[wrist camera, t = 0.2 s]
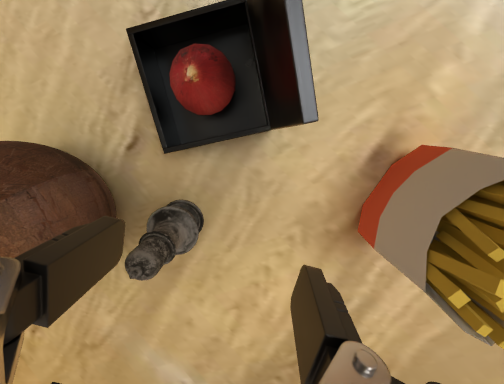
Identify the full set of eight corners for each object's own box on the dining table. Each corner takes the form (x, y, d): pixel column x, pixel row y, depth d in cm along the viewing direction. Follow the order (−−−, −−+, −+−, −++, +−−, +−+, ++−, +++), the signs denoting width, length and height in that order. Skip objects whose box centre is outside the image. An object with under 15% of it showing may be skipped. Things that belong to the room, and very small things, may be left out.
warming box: (179, 150, 27) (163, 153, 23) (150, 46, 24) (125, 28, 20) (272, 129, 26) (274, 129, 22) (251, 18, 23) (249, -7, 19)
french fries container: (346, 221, 28) (479, 366, 11) (403, 141, 26) (700, 166, 8) (378, 238, 29) (554, 405, 11) (437, 161, 26) (789, 225, 9)
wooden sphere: (1, 186, 29) (-254, 240, 15) (79, 111, 26) (-143, 88, 12) (87, 271, 32) (-59, 387, 18) (166, 212, 29) (70, 292, 15)
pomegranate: (176, 71, 24) (136, 43, 17) (227, 48, 24) (209, 9, 16) (198, 124, 26) (170, 122, 18) (247, 105, 25) (239, 94, 17)
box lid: (302, 124, 10) (319, 120, 10) (246, -240, 7) (268, -246, 7) (270, 129, 21) (278, 128, 21) (244, -9, 19) (253, -11, 19)
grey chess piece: (193, 248, 30) (149, 321, 19) (152, 226, 30) (82, 288, 18) (214, 212, 29) (180, 267, 17) (171, 188, 28) (108, 229, 17)
